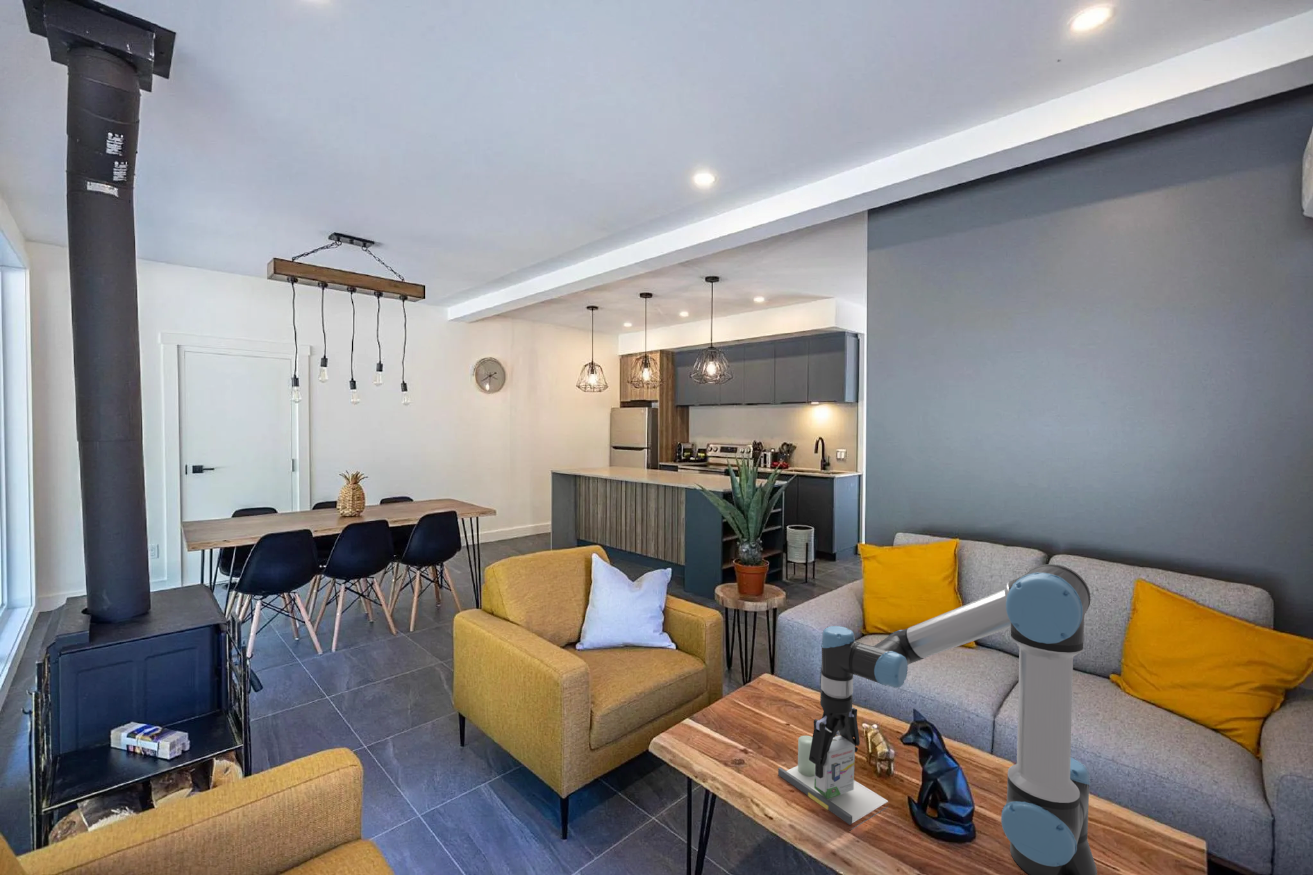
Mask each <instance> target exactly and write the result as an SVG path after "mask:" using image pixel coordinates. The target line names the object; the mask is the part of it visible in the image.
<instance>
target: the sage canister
mask: <svg viewBox="0 0 1313 875" xmlns="http://www.w3.org/2000/svg"><path fill="white" fill-rule="evenodd" d="M812 738H813V736H810V735H800V736H799V737H798V740H797V741H798V742H797V744H798V745H797V751H798V752H797V766H798V771H799V773H800V774H802V775H804V776H808V777H812V776H815V764H814V763H813V762H811V761H809V755H810V750H811V744H812Z"/></svg>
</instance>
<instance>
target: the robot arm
mask: <svg viewBox="0 0 1313 875" xmlns="http://www.w3.org/2000/svg"><path fill="white" fill-rule="evenodd" d="M1090 604H1091V592H1090V587H1089V586H1088V584H1087V582H1086V581H1085V580H1084V578H1083V577H1082V576H1081V575H1080V574H1078V573H1077V572H1076V571H1074V570H1073V569H1071V568H1069V567H1067V566H1064V565H1060V564H1052V563H1051V564H1050V563H1049V564H1048V563H1047V564H1041V565H1038V566H1035V567H1033V568H1032V569H1030V570H1029V571H1028V572H1027V573H1025V574H1024V575H1022V576H1019V577H1017V578H1015V579H1013V580H1010V581H1008V582H1006V586H1005V588H1004V589H1002V590H998V591H996V592H994V593H992V594H990V595H989V594H988V595H986V596H984V597H982V598H979V599H976V600H974V601H971V602H969V603H967V604H964V605H961V606H959V607H956V608H955V609H952V610H949V611H947V612H944V613H941V614H939V615H937V616H934V617H932V618H929V619H927V620H924V621H922V622H920V623H917V624H914V625H912V626H909V627H908V628H905V629H899V630H897V631H894V632H892V633H890V634H889V635H888V636H887V637H886V638H884V639H882V640H881V641H879V642H878V643H876V644H875V645H869V644H864V643H862V642H860V641H857V640H856V639H855V634H854V631H853V630H852V629H850V628H848V627H845V626H839V625H831V626H827V627H826V628H824V629H823V631H822V637H821V645H820V647H821V670H820V672H821V676H820V699H819V700H820V706H821V708H822V710H823V713H822V716H821V719H818V718H815V719H814V720H813V734H812V737H813V738H812V744H811V750H810V755H809V761H811V762H813V763H814V764H815V775H816V787H817V788H819V789H820V790H822V791H823V792H827V764H826V763H825V762H826V759H827V752H828V751H829V749H830V746H831V743H832V739H833V738H834V737H835V736H836V733H837V731H838V730H839V732H840V735H841V736H842V737H844V738H845V739H847V740H848V741H850V742H852V743H853V744H854V745H855V753H857V752H858V750H859V748H858V747H859V745H860V743H861V741H860V735H859V728H858V727H859V726H858V718H857V717H858V709H857V708H855V707H853V700H854V699H853V697H854V696H853V693H854V676H857V677H860V678H864V679H866V680H870V681H872V682H874V683H878V684H879V685H882V686H888V687H892V688H895V689H897V688H901V687H903V685H904V684H905V681H906V679H907V675H908V669H909V667H908V666H909V665H911V664H914V663H916V662H919V661H921V660H923V659H926V658H929V657H931V656H934V655H937V654H940V653H943V652H945V651H949V650H951V649H953V648H956V647H957V648H958V647H960V646H962V645H965V644H969V643H972V642H974V641H977V640H980V639H983V638H985V637H988V636H991V635H994V634H997V633H1000V632H1002V631H1006V630H1008V629H1010V638H1011V639H1012V641H1013V642H1014V644H1016V645H1017V646H1018V648H1019V653H1018V655H1019V657H1018V690H1017V691H1018V696H1017V699H1018V700H1017V734H1016V735H1017V736H1016V738H1017V739H1016V740H1017V745H1016V746H1017V748H1016V764H1013V765H1011V766H1010V767H1008V769H1007V781H1006V782H1007V784H1006V785H1007V787H1006V803H1005V805H1003V808H1002V810H1001V818H1000V820H1001V821H1000V822H1001V827H1002V830H1003V833H1004V835H1005V836H1006V838H1007V839H1008V841H1009V843H1010V844H1009V845H1010V846H1009V851H1010V855H1011V857H1012V859H1013V860H1014V862H1015V863H1016V864H1017V865H1018V866H1019V867H1020V869H1022V870H1023V872H1025V873H1026V874H1028V875H1098V870H1097V869H1098V868H1097V866H1096V862H1095V859H1094V855H1093V853H1092V850H1091V847H1090V844H1089V841H1088V833H1089V832H1088V831H1089V830H1088V829H1089V828H1088V827H1089V802H1090V800H1089V798H1090V796H1089V795H1090V785H1091V780H1090V772H1089V770H1088V768H1087V767H1086V766H1085V764H1084V763H1081V761H1078V760H1077V759H1075V758H1074V757H1072V753H1071V752H1072V751H1071V750H1072V718H1073V717H1072V715H1073V714H1072V713H1073V711H1072V710H1073V674H1074V673H1073V672H1074V666H1073V665H1074V657H1075V656H1077V655H1079V654H1080V653H1082V652H1083V651H1084V637H1085V636H1084V635H1085V633H1084V631H1085V615H1086V614H1087V611H1088V610H1089V607H1090ZM826 728H827V729H828V730H830V731H832V732H829V731H828V730H827V729H826Z"/></svg>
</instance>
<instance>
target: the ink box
mask: <svg viewBox="0 0 1313 875" xmlns="http://www.w3.org/2000/svg"><path fill="white" fill-rule="evenodd" d="M855 747H856V746H855V745H854V744H853V743H852V742H850V741H848V740H847V739H845V738H844V737H842V736H836V737H834V738H833V739H832V743H831V746H830V749H829V751H828V752H827V759H826V762H825V763H826V764H827V792H823V791H822V790H820V789H819V788H817V787H816V775H815V781H814V788H815V789H816V790H817V791H818V792H820V793H821V794H822V795H823V796H824V797H825V798H826V799H830V798H832V797H835V796H838V795H841V794H844V793H846V792H849V791H852V790H854V780H855V756H856V752H855Z"/></svg>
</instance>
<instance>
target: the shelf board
mask: <svg viewBox="0 0 1313 875" xmlns="http://www.w3.org/2000/svg"><path fill="white" fill-rule="evenodd" d="M777 769H778V770H777V773H778V774H777V776H779V777H781V778H782V779H783V780H784V781H786V782H787V783H789V784H790V785H792V786H793V787H794V788H796V789H798V790H799V791H800V792H801V793H803V794H805V795H806V796H808V798H810V799H812V801H814V802H816V803H817V804H818V805H820V806H821V807H822V808H824V809H826V810H827V811H829V812H831V813H832V814H833V815H835V816H836V817H837V818H840V819H841V820H842V821H844V822H845V823H846V824H848V825H852V824H854V823H855V822H857V821H859V820H860V819H862V818H863V817H865V816H867V815H869V814H870V813H873V811H876V810H877V809H878V808H880V807H881V806H883V805H885V804H887V803H889V801H888V800H887V799H886V798H884V797H883V796H881V795H880V794H878V793H877V792H874V791H873V790H871V789H869V788H868V787H867V786H864V785H863V784H861V783H860V782H858V781H856V780H855V779H854V790H852V791H849V792H846V793H844V794H841V795H838V796H835V797H832V798H830V799H826V798H825V797H824V796H823V795H822V794H821V793H820V792H818V791H817V790H816V789H815V788H814V781H815V776H812V777H808V776H804V775H802V774H800V773H799V771H798V765H796V766H794V767H791V768H790V769H788V770H785V769H784V768H782V767H778V768H777ZM888 808H889V806H886V807H884V808H883V809H881V810H880V811H878V812H876V813H875V814H873V815H871V816H870V817H868V818H867V819H865V820H864V821H862V822H860V823H859V824H856V825H855V826H854V827H852V828H850V829H849V832H851V831H852V830H854V829H856V828H857V827H859V826H860V825H862V824H863V823H866V821H869V820H871V819H872V818H873V817H875V816H876V815H878V814H880V813H881V812H882V811H885V810H886V809H888Z"/></svg>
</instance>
